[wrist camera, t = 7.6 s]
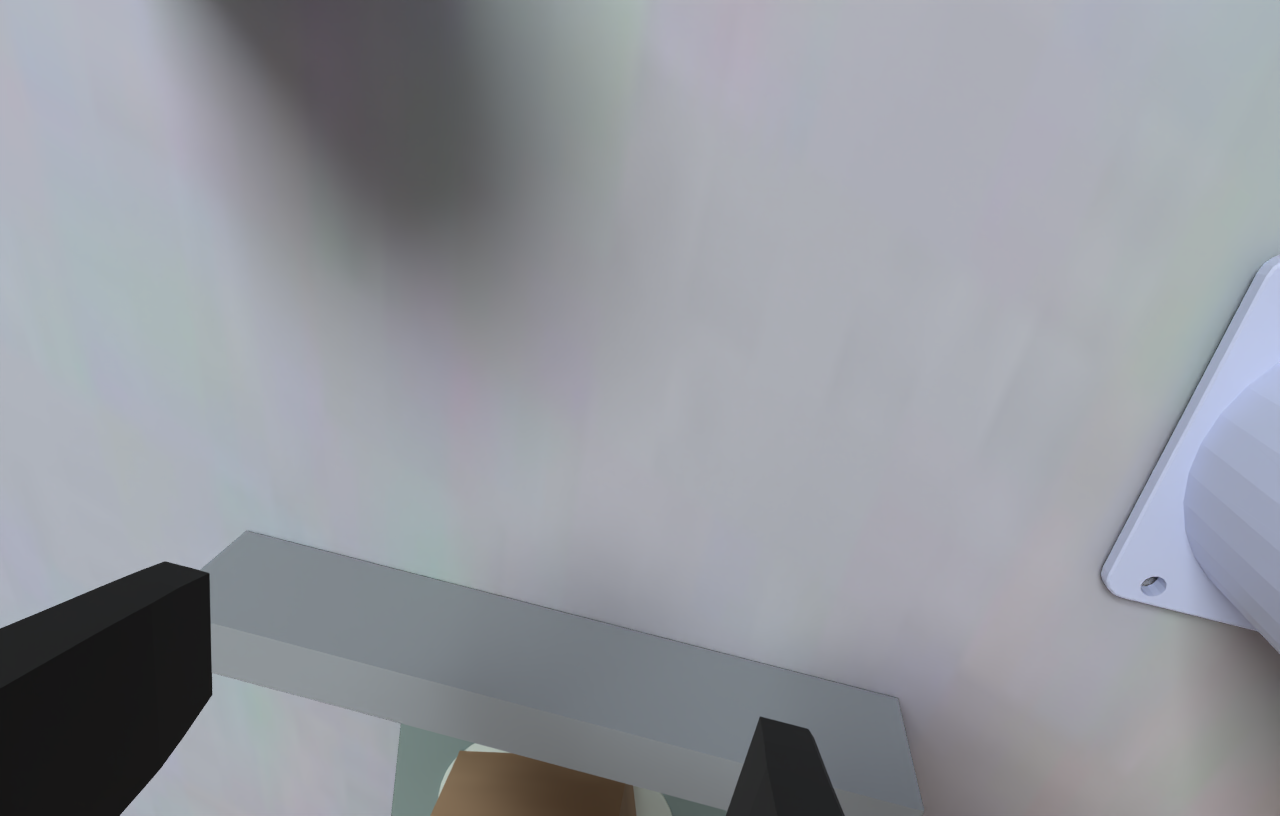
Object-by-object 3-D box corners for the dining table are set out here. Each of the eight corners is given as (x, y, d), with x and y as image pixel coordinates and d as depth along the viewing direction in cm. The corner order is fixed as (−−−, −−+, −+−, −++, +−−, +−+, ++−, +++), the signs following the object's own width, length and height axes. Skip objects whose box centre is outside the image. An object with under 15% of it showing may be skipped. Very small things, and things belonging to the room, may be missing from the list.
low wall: (897, 698, 20) (924, 811, 17) (879, 740, 21) (901, 857, 18) (246, 530, 21) (155, 608, 18) (246, 575, 22) (157, 658, 19)
